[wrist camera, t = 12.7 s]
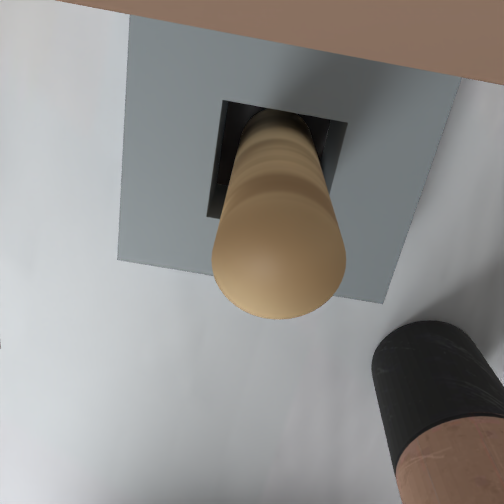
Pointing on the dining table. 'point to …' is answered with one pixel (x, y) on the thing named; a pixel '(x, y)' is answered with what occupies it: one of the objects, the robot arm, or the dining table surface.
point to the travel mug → (440, 415)
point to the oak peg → (278, 223)
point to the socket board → (280, 98)
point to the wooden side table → (353, 28)
